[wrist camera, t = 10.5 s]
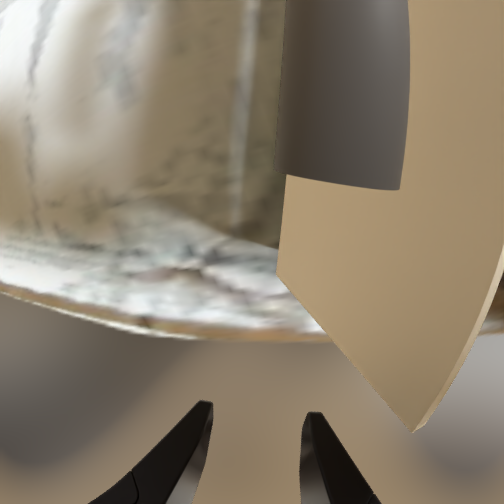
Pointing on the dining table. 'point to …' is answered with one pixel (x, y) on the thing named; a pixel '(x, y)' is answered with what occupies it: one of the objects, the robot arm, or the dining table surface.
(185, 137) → the dining table surface
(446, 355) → the lid flap
